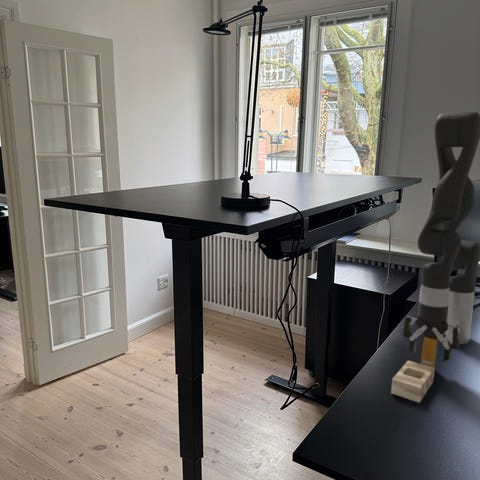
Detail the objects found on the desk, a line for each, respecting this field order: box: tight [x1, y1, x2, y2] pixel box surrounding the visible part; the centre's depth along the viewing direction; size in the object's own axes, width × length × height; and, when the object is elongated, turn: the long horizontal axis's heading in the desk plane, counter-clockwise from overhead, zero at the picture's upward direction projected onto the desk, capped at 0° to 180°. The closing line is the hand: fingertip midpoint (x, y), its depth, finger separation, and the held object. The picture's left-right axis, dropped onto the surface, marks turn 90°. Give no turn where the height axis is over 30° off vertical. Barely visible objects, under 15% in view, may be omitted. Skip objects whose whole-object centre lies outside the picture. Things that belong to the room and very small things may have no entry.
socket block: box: [390, 360, 435, 404], centre depth 115 cm, size 13×7×4 cm, turn 143°
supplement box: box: [420, 336, 439, 368], centre depth 124 cm, size 3×3×10 cm
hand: (428, 356), depth 124 cm, fingers open, 8 cm apart
